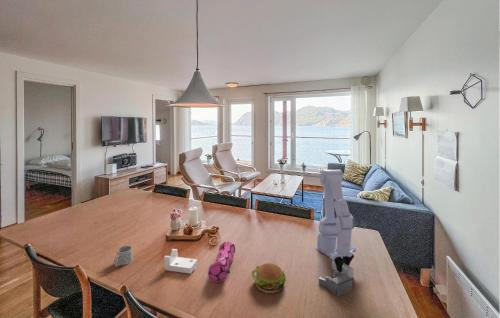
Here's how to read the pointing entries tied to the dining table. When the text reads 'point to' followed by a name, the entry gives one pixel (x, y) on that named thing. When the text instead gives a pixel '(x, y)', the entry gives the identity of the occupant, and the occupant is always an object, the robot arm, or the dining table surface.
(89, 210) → the dining table surface
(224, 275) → the pencil case
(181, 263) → the bracket
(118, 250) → the mug
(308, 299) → the dining table surface
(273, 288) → the food
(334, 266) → the white rectangular block
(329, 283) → the endcap
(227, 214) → the dining table surface
